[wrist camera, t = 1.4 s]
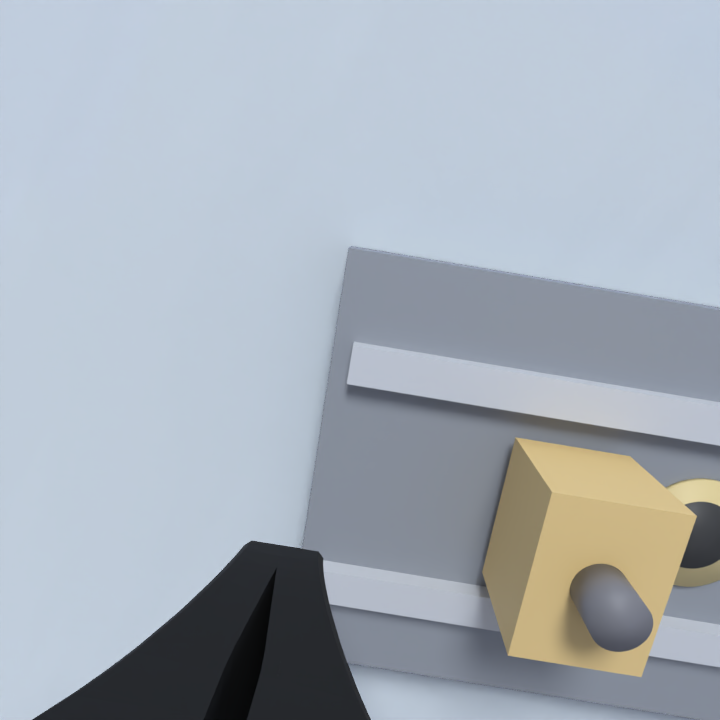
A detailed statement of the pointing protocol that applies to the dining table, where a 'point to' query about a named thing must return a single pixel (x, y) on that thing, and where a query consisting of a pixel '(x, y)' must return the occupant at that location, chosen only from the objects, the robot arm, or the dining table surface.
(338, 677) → the robot arm
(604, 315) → the gauge plate
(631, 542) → the slider
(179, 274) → the dining table surface
